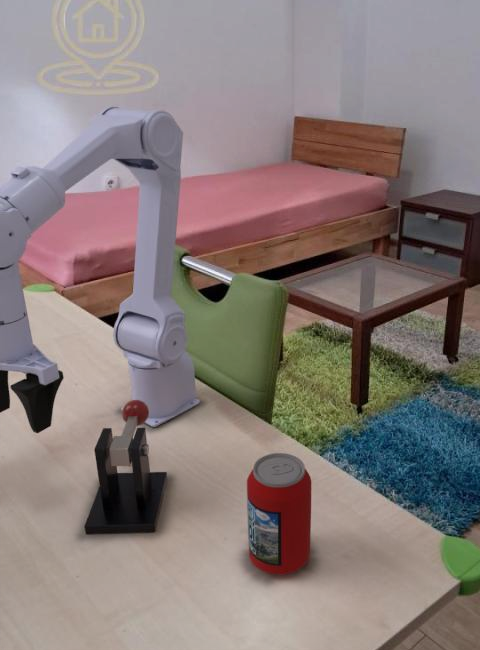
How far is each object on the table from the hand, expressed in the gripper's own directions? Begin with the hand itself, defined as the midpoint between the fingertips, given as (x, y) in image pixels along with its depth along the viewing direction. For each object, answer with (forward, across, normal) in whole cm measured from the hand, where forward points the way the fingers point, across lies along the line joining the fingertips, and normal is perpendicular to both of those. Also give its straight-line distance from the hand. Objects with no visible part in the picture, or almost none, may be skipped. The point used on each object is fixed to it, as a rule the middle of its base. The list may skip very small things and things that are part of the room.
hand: (21, 419), depth 76 cm
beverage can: (+10, +33, +6) cm, 35 cm away
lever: (+4, +10, +7) cm, 13 cm away
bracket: (+10, +13, +4) cm, 17 cm away
